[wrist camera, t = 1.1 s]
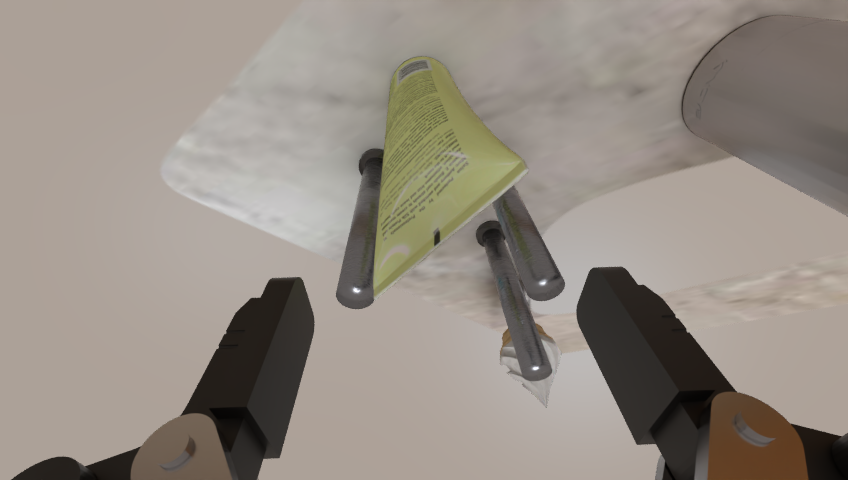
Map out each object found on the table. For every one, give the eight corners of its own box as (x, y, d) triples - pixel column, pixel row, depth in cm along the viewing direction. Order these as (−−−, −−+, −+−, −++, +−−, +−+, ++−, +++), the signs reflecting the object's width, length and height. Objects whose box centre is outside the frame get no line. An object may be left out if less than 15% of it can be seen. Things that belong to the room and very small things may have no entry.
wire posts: (518, 143, 30) (600, 264, 17) (503, 243, 37) (554, 384, 24) (357, 149, 30) (320, 276, 17) (371, 249, 36) (352, 394, 24)
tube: (450, 130, 29) (501, 302, 14) (390, 129, 29) (371, 303, 13) (455, 54, 26) (531, 169, 10) (387, 53, 26) (358, 168, 10)
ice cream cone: (488, 302, 42) (521, 430, 30) (474, 271, 39) (504, 400, 27) (533, 288, 41) (586, 415, 29) (522, 255, 38) (576, 382, 26)
